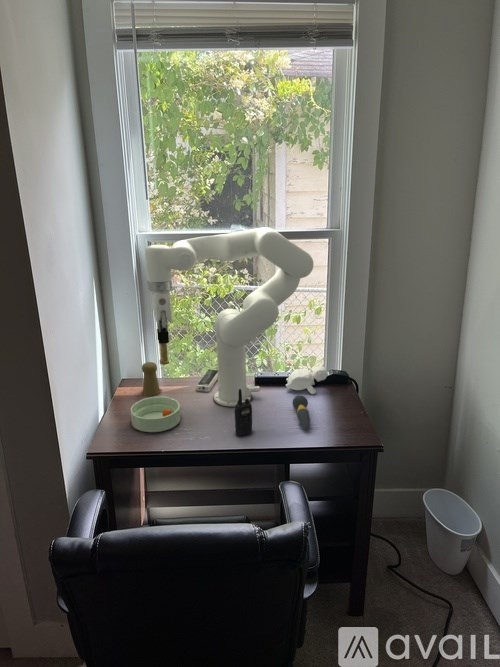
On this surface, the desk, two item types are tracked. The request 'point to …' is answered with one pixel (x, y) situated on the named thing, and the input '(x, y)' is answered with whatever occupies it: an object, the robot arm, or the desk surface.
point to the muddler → (164, 354)
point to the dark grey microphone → (302, 411)
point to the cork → (150, 379)
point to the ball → (166, 412)
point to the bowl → (155, 414)
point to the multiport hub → (207, 381)
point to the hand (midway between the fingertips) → (163, 341)
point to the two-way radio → (243, 416)
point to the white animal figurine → (305, 378)
